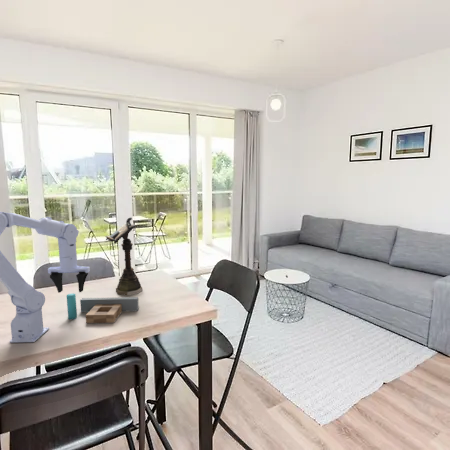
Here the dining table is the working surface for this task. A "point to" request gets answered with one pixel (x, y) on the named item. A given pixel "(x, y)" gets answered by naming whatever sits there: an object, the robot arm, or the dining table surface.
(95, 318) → the wooden square frame
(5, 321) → the dining table surface
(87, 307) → the backstop wall
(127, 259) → the dark bronze tall stand
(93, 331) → the dining table surface
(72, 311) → the dowel
